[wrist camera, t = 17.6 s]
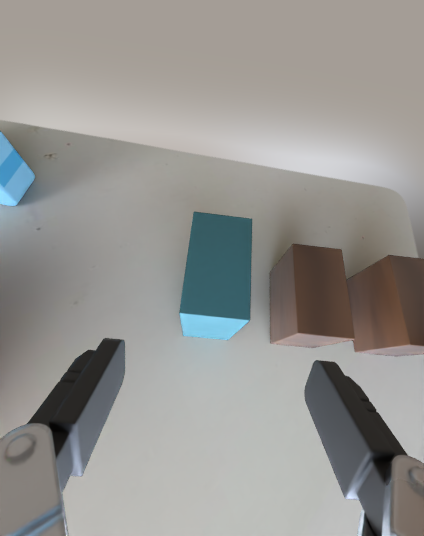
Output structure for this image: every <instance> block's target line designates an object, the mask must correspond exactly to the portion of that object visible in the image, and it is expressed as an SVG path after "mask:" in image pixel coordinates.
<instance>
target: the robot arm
mask: <svg viewBox="0 0 424 536" xmlns="http://www.w3.org/2000/svg"><path fill="white" fill-rule="evenodd" d="M124 373H125V342H124V340H120V339H110V338H104V339H103V340H102V342H101V343H100V345H99V346H98V348H97V349H96V351H95V350H87V351H86V352H84V353H83V354H82V355H80V356H79V357H77V358H76V359H75V360H74V362H73V363H72V365H71V366H70V367H69V369H68V371H67V372H66V373H65V374H64V375H63V377H62V378H61V380H60V382H58V383H57V385H56V386H55V387H54V389H53V390H52V391H51V393H50V394H49V395H48V397H47V398H46V399H45V401H44V402H43V403H42V405H41V406H40V408H39V409H38V410H37V412H36V413H35V414H34V416H33V417H32V418H31V420H30V421H29V422H28V423H27V424H26V425H23V426H20V427H18V428H16V429H14V430H12V431H11V432H9V433H8V434H6V435H5V436H3V437H2V438H1V439H0V536H69V535H68V529H67V522H66V515H65V508H64V502H63V495H62V492H63V490H64V488H65V486H66V483H67V481H68V479H69V477H70V475H71V476H82V474H83V472H84V470H85V468H86V465H87V463H88V461H89V458H90V456H91V454H92V451H93V449H94V447H95V445H96V442H97V440H98V438H99V435H100V433H101V431H102V428H103V426H104V424H105V422H106V419H107V417H108V415H109V412H110V410H111V408H112V406H113V403H114V401H115V399H116V396H117V394H118V392H119V389H120V387H121V385H122V382H123V378H124ZM305 401H306V404H307V406H308V409H309V411H310V414H311V416H312V419H313V421H314V424H315V426H316V428H317V431H318V433H319V436H320V438H321V441H322V443H323V446H324V448H325V451H326V453H327V455H328V458H329V460H330V463H331V465H332V468H333V470H334V473H335V475H336V478H337V480H338V482H339V485H340V487H341V490H342V492H343V495H344V497H345V499H357V500H359V501H360V503H361V505H362V507H363V510H362V511H361V514H360V519H359V527H358V534H357V536H424V463H422V462H421V461H419V460H417V459H415V458H413V457H410V456H408V455H407V454H406V452H405V451H404V449H403V448H402V446H401V445H400V443H399V442H398V441H397V439H396V438H395V436H394V435H393V433H392V432H391V430H390V429H389V428H388V426H387V425H386V423H385V422H384V420H383V419H382V417H381V416H380V415H379V413H377V412H376V409H375V407H374V406H373V405H372V403H371V402H369V399H368V397H367V396H366V394H365V393H364V392H363V390H362V389H361V387H360V386H359V385H357V384H356V383H355V382H354V381H353V380H352V379H351V378H350V377H348V376H345V375H344V374H343V372H342V371H341V369H340V368H339V366H338V365H337V364H336V363H335V362H329V361H319V360H316V361H315V362H314V363H313V366H312V369H311V372H310V375H309V377H308V380H307V383H306V386H305Z"/></svg>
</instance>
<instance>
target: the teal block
mask: <svg viewBox="0 0 424 536" xmlns="http://www.w3.org/2000/svg"><path fill="white" fill-rule="evenodd" d="M251 250H252V219H250V218H241V217H233V216H225V215H217V214H209V213H201V212H194V213H193V220H192V227H191V234H190V241H189V248H188V255H187V262H186V269H185V277H184V284H183V291H182V298H181V305H180V312H179V314H180V319H181V325H182V331H183V336H192V337H202V338H212V339H222V340H228V339H229V338H231V337H232V336H233V335H234V334H235V333H236V332H237V331H239V330H240V329H241V328H242V327H243V326H244V325H245V324H247V323H248V322H249V321H250V297H251Z"/></svg>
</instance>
